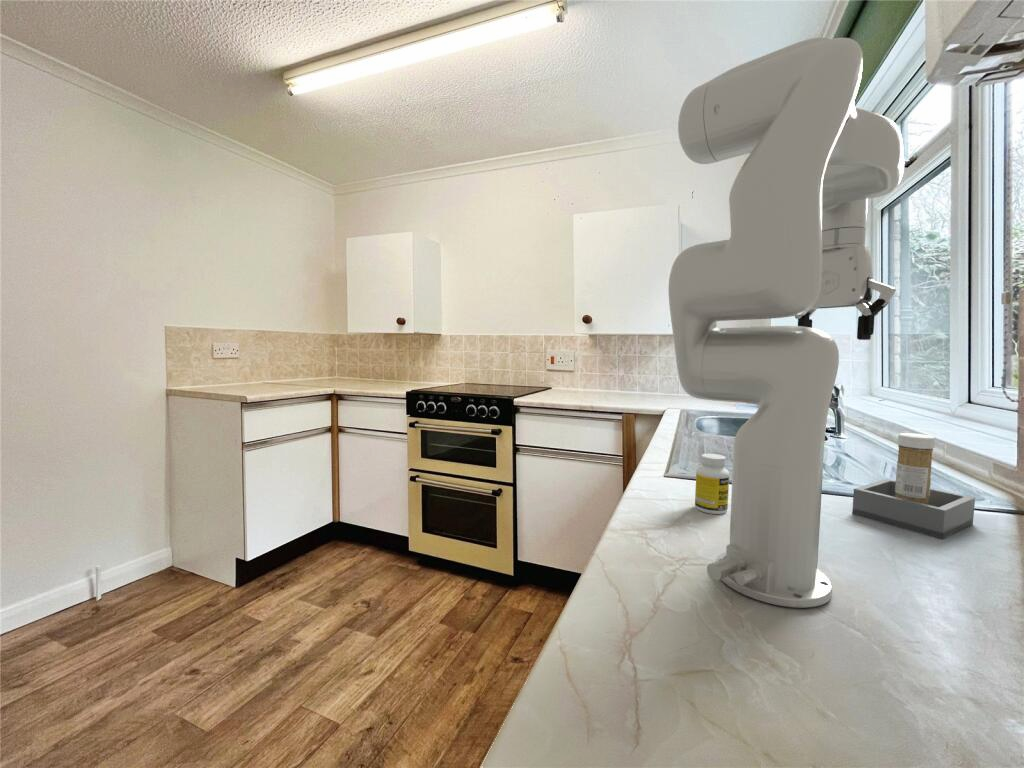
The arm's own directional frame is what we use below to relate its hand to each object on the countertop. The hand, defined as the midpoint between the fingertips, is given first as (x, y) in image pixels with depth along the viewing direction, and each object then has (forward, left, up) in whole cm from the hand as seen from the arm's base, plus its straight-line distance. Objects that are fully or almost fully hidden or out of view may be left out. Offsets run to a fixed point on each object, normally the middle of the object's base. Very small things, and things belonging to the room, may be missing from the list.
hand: (832, 340), depth 82 cm
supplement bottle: (-21, +8, -31) cm, 38 cm away
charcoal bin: (+5, -11, -30) cm, 33 cm away
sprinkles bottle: (+4, -11, -30) cm, 32 cm away
